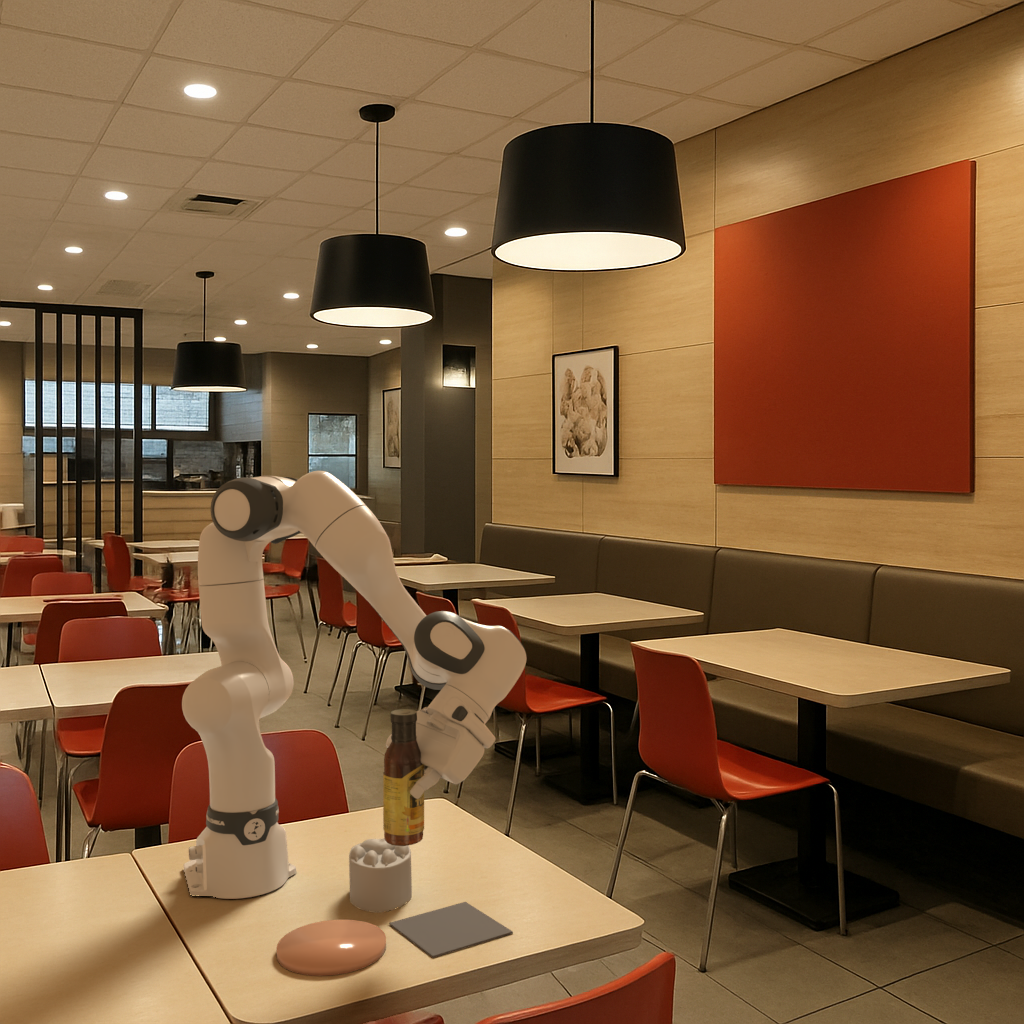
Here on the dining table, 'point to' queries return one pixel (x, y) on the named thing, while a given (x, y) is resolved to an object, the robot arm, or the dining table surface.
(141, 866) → the dining table surface
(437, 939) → the rubber mat
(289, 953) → the terracotta plate
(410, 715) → the sauce bottle
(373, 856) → the lumpy-topped squat cylinder
